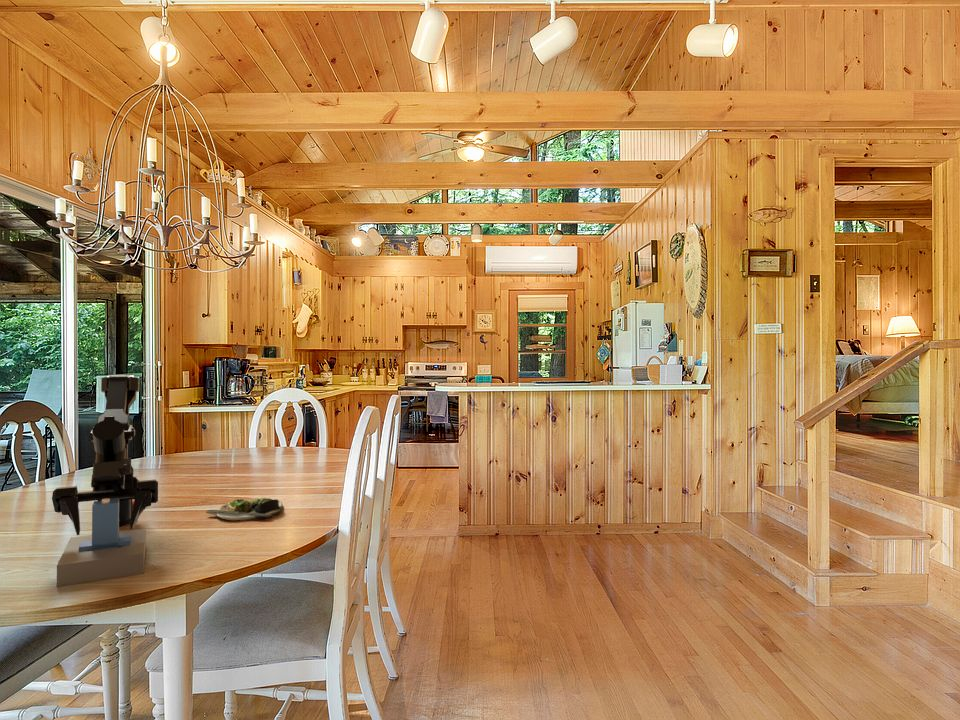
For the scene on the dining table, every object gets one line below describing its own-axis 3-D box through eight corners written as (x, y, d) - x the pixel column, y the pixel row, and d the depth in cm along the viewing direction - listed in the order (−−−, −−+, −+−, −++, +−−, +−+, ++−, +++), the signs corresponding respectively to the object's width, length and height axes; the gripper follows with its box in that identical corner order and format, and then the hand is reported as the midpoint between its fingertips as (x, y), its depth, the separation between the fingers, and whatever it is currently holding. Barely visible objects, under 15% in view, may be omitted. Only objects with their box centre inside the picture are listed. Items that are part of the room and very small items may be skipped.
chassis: (70, 556, 121) (70, 537, 121) (145, 545, 128) (146, 528, 128) (56, 586, 105) (56, 565, 105) (143, 573, 112) (143, 553, 112)
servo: (80, 565, 116) (81, 498, 116) (130, 558, 120) (131, 494, 120) (78, 571, 113) (79, 502, 113) (129, 563, 117) (130, 497, 117)
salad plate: (200, 527, 143) (200, 509, 143) (211, 508, 160) (211, 492, 160) (280, 521, 149) (280, 504, 149) (283, 504, 166) (283, 488, 166)
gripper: (53, 449, 115) (43, 516, 106) (158, 443, 124) (157, 504, 115) (59, 479, 122) (50, 545, 112) (158, 471, 131) (157, 532, 122)
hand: (105, 531), depth 115 cm, fingers open, 9 cm apart
